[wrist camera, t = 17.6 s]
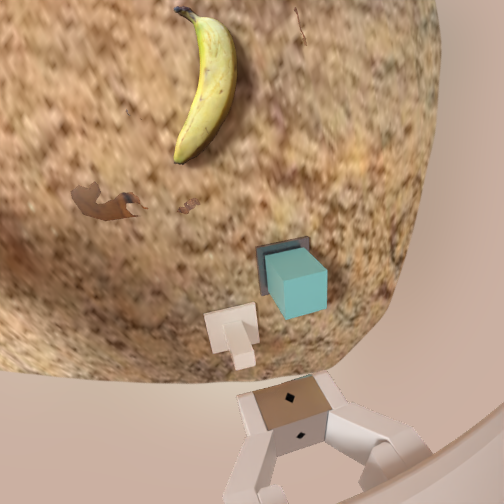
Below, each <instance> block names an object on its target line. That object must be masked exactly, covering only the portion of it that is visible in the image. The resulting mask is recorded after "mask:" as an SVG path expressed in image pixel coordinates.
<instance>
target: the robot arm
mask: <svg viewBox="0 0 504 504" xmlns="http://www.w3.org/2000/svg"><path fill="white" fill-rule="evenodd" d="M237 401H238V406H239V410H240V414H241V418H242V422H243V426H244V429H245V432H246V435H247V437H245V439H244V442H243V445H242V448H241V450H240V452H239V455H238V458H237V460H236V463H235V466H234V468H233V471H232V473H231V476H230V478H229V481H228V483H227V486H226V488H225V491H224V493H223V496H222V497H223V501H224V504H289V503H288V501H287V499H286V496H285V494H284V491H283V489H282V487H281V486H278V485H271V486H270V482H271V478H272V474H273V471H274V467H275V463H276V459H277V458H276V457H278V456H281V455H284V454H287V453H290V452H293V451H296V450H299V449H302V448H305V447H308V446H311V445H314V444H317V443H320V442H323V441H325V442H326V443H327V444H329V445H331V446H332V447H334V448H335V449H337V450H339V451H340V452H342V453H344V454H345V455H347V456H349V457H350V458H352V459H354V460H355V461H357V462H359V463H361V464H362V465H365V468H364V470H363V473H362V475H361V477H360V480H359V484H360V486H361V488H362V490H363V491H364V492H362V493H360V494H358V495H356V496H353V497H351V498H349V499H347V500H344V501H342V502H339V503H337V504H504V402H503V403H502V404H501V405H500V406H499V407H497V408H496V409H495V410H494V411H492V412H491V413H490V414H489V415H488V416H486V417H485V418H484V419H483V420H481V421H480V422H479V423H477V424H476V425H475V426H473V427H472V428H471V429H470V430H468V431H467V432H465V433H464V434H463V435H461V436H460V437H458V438H457V439H455V440H454V441H453V442H451V443H450V444H448V445H447V446H445V447H444V448H442V449H441V450H439V451H438V452H436V453H434V454H433V453H432V452H431V450H430V449H429V448H428V446H427V445H426V444H425V442H424V441H423V440H422V439H421V437H420V436H419V434H418V433H417V432H416V430H415V429H414V428H413V427H412V426H410V425H407V424H404V423H402V422H400V421H397V420H395V419H392V418H390V417H387V416H385V415H382V414H380V413H377V412H375V411H373V410H370V409H368V408H366V407H363V406H361V405H359V404H356V403H354V402H351V403H348V401H347V400H346V398H345V397H344V395H343V394H342V392H341V391H340V389H339V388H338V386H337V385H336V383H335V382H334V381H333V379H332V377H331V376H330V374H329V373H328V371H326V370H322V371H319V372H316V373H313V374H309V375H306V376H303V377H300V378H297V379H294V380H291V381H287V382H284V383H282V384H279V385H276V386H272V387H268V388H264V389H260V390H256V391H252V392H248V393H244V394H240V395H237Z"/></svg>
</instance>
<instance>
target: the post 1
mask: <svg viewBox="0 0 504 504" xmlns="http://www.w3.org/2000/svg"><path fill="white" fill-rule="evenodd" d="M204 319H205V323H206V327H207V331H208V336H209V340H210V344H211V348H212V352H213V354H215V353H219V352H224V351H228V350H229V351H230V354H231V357H232V360H233V363H234V366H235V369H236V371H237V370H241V369H244V368H248V367H252V366H256V362H255V355H254V350H253V348H252V344H256V343H260V340H259V332H258V324H257V315H256V307H255V303H254V302H252V303H247V304H243V305H239V306H235V307H230V308H226V309H222V310H217V311H213V312H208V313H204Z"/></svg>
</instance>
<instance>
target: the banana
mask: <svg viewBox="0 0 504 504" xmlns="http://www.w3.org/2000/svg"><path fill="white" fill-rule="evenodd" d="M174 11H175V12H176V13H179V14H180V15H181V16H183V17H185V18H186V19H188V20H189V21H190V22H192V23H193V24H194V27H195V31H196V35H197V41H198V46H199V55H200V77H199V84H198V89H197V92H196V95H195V98H194V101H193V103H192V105H191V109H190V112H189V114H188V118H187V120H186V122H185V124H184V126H183V128H182V130H181V132H180V134H179V136H178V140H177V143H176V147H175V153H174V163H175V164H182V165H184V164H185V163H186V162H187V161H188V160H190V159H192V158H195V157H197V156H198V155H199V154H200V153H201V152H203V151H204V150H205V148H206V147H207V146H208V145H209V144H210V142H211V141H212V140H213V139H214V137H215V136H216V135H217V133H218V131H219V129H220V127H221V125H222V124H223V122H224V121H225V119H226V117H227V115H228V113H229V110H230V108H231V104H232V101H233V98H234V94H235V89H236V82H237V56H236V50H235V46H234V42H233V38H232V36H231V34H230V32H229V31H228V29H227V28H226V27H225V26H224V25H223V24H222V23H220V22H219V21H217V20H216V19H213V18H208V17H200V16H198V15H196V14H195V13H193V12H192V11H191V9H190V8H188V7H185V6H183V7H178V6H177V7H175V8H174ZM294 11H295V12H296V14H297V17H298V13H297V9H296V7H295V8H294ZM298 22H299V18H298ZM299 27H300V30H301V26H300V22H299ZM301 32H302V30H301ZM302 34H303V32H302ZM302 34H301V35H302ZM303 37H304V38H303V39H302V40H303V41H304V45H306V46H307V44H306V38H305V36H304V34H303ZM301 45H302V44H301ZM126 112H127V114H128V111H127V110H126ZM128 115H129V114H128ZM129 116H130V115H129ZM140 119H141V118H140ZM141 120H142V119H141ZM100 193H101V191H100V189H99V186H98V184H97V183H96V182H93V183H92V184H91V185H90V189H89V188H85V187H82V186H77V187H76V188H75V189H74V190H72V191H71V195H72V199H73V200H74V202H75V203H76V205H77V206H78V207H79V209H80V210H81V212H82V213H83V214H84V215H87V216H91V217H94V218H97V219H101V220H104V221H108V220H115V219H121V218H128V217H136V216H135V215H132V214H131V213H130V212H129V211H128V210H127V209H126V203H135V202H136V203H138V204H140V200H139V198H138V196H135V195H134V194H133V192H129V193H121V194H119V195H118V196H117V197H116V198H115V199H114V200H110V201H108V202H106V203H104V204H97V203H95V202H96V200H97V198H98V197H99V195H100ZM187 203H188V204H189V205H187ZM196 204H197V205H200V203H199V201H198V199H197V198H193V199H191V200H189V201H188V202H186V203H185V204H184V205H185V206H186V207H179V209H178V211H177V212H181V213H184V214H188V213H189V211H190V210H191V209H193V208H195V205H196ZM141 206H142V205H141ZM142 207H143V206H142ZM143 208H144V209H148V208H145V207H143Z"/></svg>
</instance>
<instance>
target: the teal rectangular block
mask: <svg viewBox="0 0 504 504" xmlns="http://www.w3.org/2000/svg"><path fill="white" fill-rule="evenodd" d="M265 261H266V272H267V282H268V292H269V293H270V295H271V296H272V298H273V300H274V301H275V303H276V305H277V306H278V308H279V310H280V311H281V313H282V314H283V316H284V318H285V319H286V320H287V319H291V318H294V317H298V316H302V315H305V314H309V313H312V312H316V311H319V310H323V309H326V308H327V269H326V268H325V267H324V266H323V265H322V264H321V263H319V262H318V261H317V260H316V259H315V258H314V257H313V256H312V255H311V254H310V253H309V252H308V251H307V250H306V249H305V248H304V247H303V248H298V249H294V250H289V251H285V252H280V253H275V254H271V255H266V256H265Z"/></svg>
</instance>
